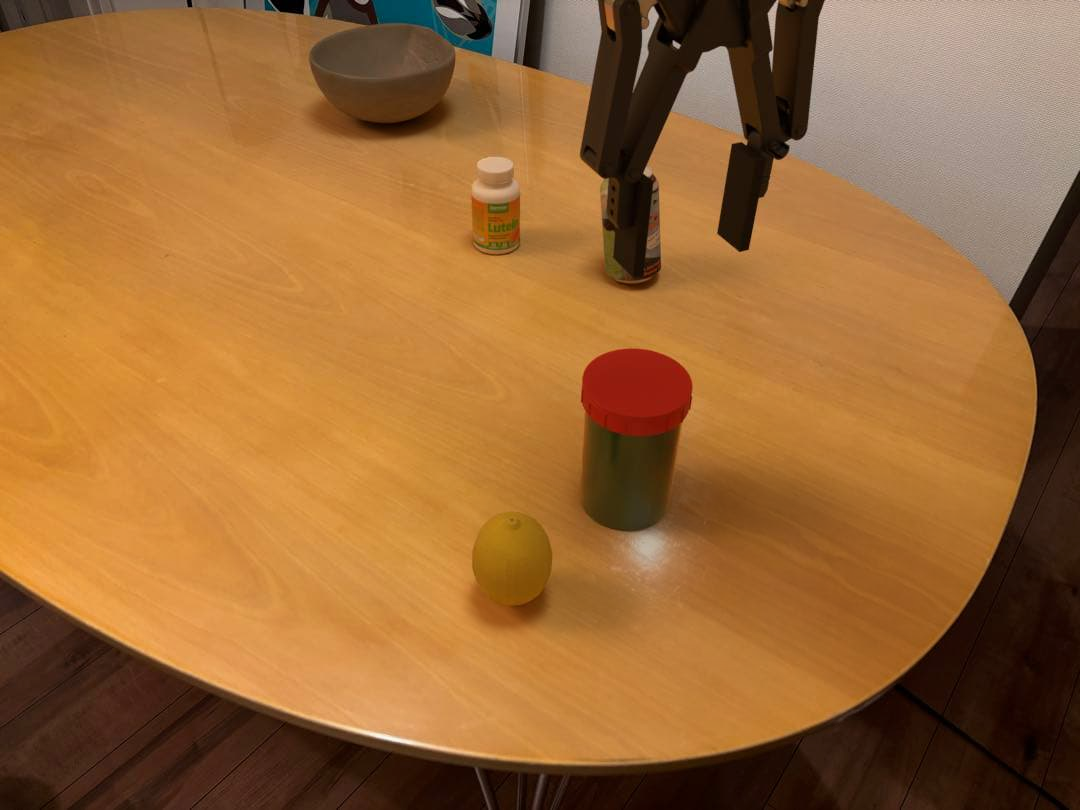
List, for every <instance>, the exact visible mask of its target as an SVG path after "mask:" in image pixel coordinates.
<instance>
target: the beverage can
mask: <svg viewBox="0 0 1080 810" xmlns="http://www.w3.org/2000/svg"><path fill="white" fill-rule="evenodd" d="M643 174H645V175H646V176H647V177H648V178H649V179H651V180H652V181H653V191H652V200H651V210H650V219H649V228H648V238H647V247H646V256H645V266H644V275H643V276H640V277H635V278H633V277H632V276H631V275H630V274H629V273H628V272H627V271H626V270H625V269H624V268H623V267H622V266H621V265H620V264H619V263H618V262H617V261H616V260H615V259H614V258H613V253H614V241H615V228H616V226H615V225H614V224H613V223H612V222H611V221H610V220H609V219H608V216H607V213H606V209H607V199H608V198H607V195H608V181H609V178H607V179H604V178H603V180H602V181H601V183H600V186H599V196H600V197H599V198H600V210H601V226H602V228H601V229H602V240H603V241H602V243H603V257H604V270H605V273H606V274H607V275H608V276H609V277H610V278H612V279H614V280H615V281H617V282H619V283H623V284H639V283H643V282H646V281H649V280H651V279H652V278H653V277H654V276H655V275H657V274H658V273H659V272H660V271H661V269H662V253H661V252H662V251H661V250H662V247H661V246H662V245H661V217H660V215H661V211H660V182H659V180H658V178H657V177H656V176H655V174H654V171H653V169H652V167H650V166H648V165H647V166H646V168H645V170H644V172H643Z"/></svg>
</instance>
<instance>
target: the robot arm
mask: <svg viewBox="0 0 1080 810" xmlns="http://www.w3.org/2000/svg"><path fill="white" fill-rule="evenodd" d="M777 1H778V2H777ZM825 1H826V0H597V5H598V14H599V22H600V29H601V30H600V31H601V33H600V38H599V45H598V50H597V55H596V60H595V65H594V72H593V77H592V83H591V89H590V93H589V94H590V95H589V100H588V106H587V110H586V116H585V122H584V128H583V134H582V138H581V143H580V144H581V145H580V150H579V158H580V160H581V161H582V162H583V163H585V164H586V165H587V166H588V167H589V168H590V169H591V170H592V171H594V172H595V174H597V175H598V176H599V177H601V178H602V179H603V180H604V179H607V178H609V181H608V195H607V198H608V199H607V209H606V213H607V216H608V219H609V220H610V221H611V222H612V223H613V224H614V225H615V226H616V228H615V241H614V253H613V258H614V259H615V260H616V261H617V262H618V263H619V264H620V265H621V266H622V267H623V268H624V269H625V270H626V271H627V272H628V273H629V274H630V275H631V276H632V277H633V278H635V277H640V276H643V275H644V266H645V256H646V247H647V238H648V228H649V219H650V210H651V200H652V191H653V181H652V180H651V179H649V178H648V177H647V176H646V175H645V174H643V172H644V170H645V168H646V166H648V163H649V161H650V159H651V157H652V154H653V152H654V150H655V148H656V145H657V143H658V141H659V139H660V136H661V134H662V131H663V129H664V127H665V125H666V122H667V121H668V118H669V116H670V114H671V111H672V109H673V106H674V104H675V102H676V100H677V98H678V95H679V93H680V91H681V88H682V87H683V84H684V81H685V79H686V77H687V75H688V74H690V73H693V72H694V70H695V69H696V68H697V66H698V65H699V61H700V60H701V58H702V55H703V53H709V52H711V51H713V50H716V49H717V48H719V47H724V48H726V50H727V54H728V55H727V56H728V59H729V65H730V70H731V75H732V80H733V85H734V91H735V96H736V101H737V106H738V112H739V118H740V123H741V127H742V134H743V137H744V139H745V140H746V144H745V143H744V142H743V141H741V142H740V141H739V142H733V143H731V147H730V153H729V158H728V165H727V170H726V176H725V183H724V189H723V195H722V201H721V208H720V214H719V219H718V227H717V230H716V231H717V232H716V234H717V235H718V236H719V237H720V238H722V239H723V240H724V241H725V242H726V243H728V244H729V245H730V246H732V248H734V249H735V250H736V251H737V252H738V253H742V252H746V251H749V250H750V245H751V241H752V235H753V230H754V225H755V221H756V220H755V219H756V215H757V209H758V205H759V199H760V198H764V197H765V195H766V193H767V191H768V190H769V184H770V179H771V175H772V169H773V164H774V160H776V161H781V160H783V159H784V158H786V157H787V155H788V153H789V152H790V147H791V146H790V145H789V144H788V143H786V142H789V141H790V140H793V141H795V142H796V141H800V140H802V139H803V138H804V137H805V136H806V134H807V132H808V129H809V128H808V127H809V119H810V109H811V98H812V90H813V89H812V87H813V79H814V69H815V59H816V49H817V40H818V30H819V19H820V15H821V12H822V9H823V7H824V3H825ZM776 2H777V5H776V6H777V7H776V11H775V19H774V20H775V21H774V32H773V33H774V35H773V39H772V33H771V26H770V19H769V12H770V10H772V8H773V7H774V5H775V4H776ZM652 8H654V10H655V12H656V14H657V15H658V17H657V20H656V22H655V24H654V27H653V29H652V32H651V34H650V37H649V39H648V42H647V46H646V47H647V52H648V53H647V58H646V60H645V62H644V65H643V67H642V68H641V69H642V70H641V72H640V75H639V77H638V79H637V81H636V78H637V73H638V69H639V64H640V60H641V53H642V48H643V30H646V29H648V27H649V26H650V19H649V13H650V11H651V9H652ZM674 42H675V43H676V44H678V45H680V46H679V48H678V47H676V46H675V45H674ZM770 52H771V53H772V52H773V53H772V64H771V58H770ZM635 82H636V85H635Z"/></svg>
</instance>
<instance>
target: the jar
mask: <svg viewBox="0 0 1080 810" xmlns="http://www.w3.org/2000/svg"><path fill="white" fill-rule="evenodd" d="M583 421H584V423H583V436H582V437H583V438H582V454H581V468H580V469H581V470H580V471H581V472H580V473H581V474H580V484H579V485H580V486H579V500H580V504H581V506H582V509H583V510H584V512H585V513H586V514H587V516H589V518H591V519H592V520H593V521H595V523H598V524H600V525H601V526H603V527H606V528H609V529H613V530H617V531H623V532H627V531H628V532H632V531H633V532H634V531H640V530H644V529H648V528H650V527H652V526H654V525H656V524H657V523H659V522H660V521H661V520H663V518H664V517H665V516H666V514H667V512H668V511H669V507H670V503H671V497H672V490H673V486H674V485H673V484H674V477H675V471H676V466H677V465H676V464H677V459H678V453H679V446H680V439H681V433H682V427H683V422H681V423H680V424H679V425H678V426H676V427H675V428H673V429H671V430H669V431H667V432H664V433H661V434H657V435H651V436H631V435H625V434H620V433H617V432H613V431H611V430H608V429H606V428H604V427H602V426H601V425H599V424H598V423H596V422H595V421H594V420H592V419H591V418H590V416H588V414H587V413H586V411H585V410H584V420H583Z"/></svg>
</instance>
